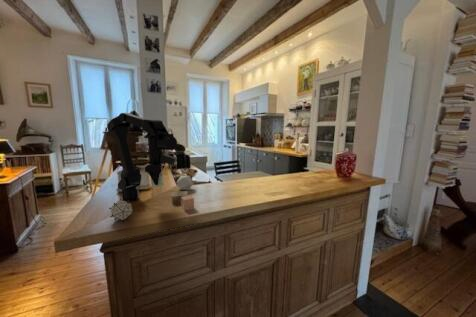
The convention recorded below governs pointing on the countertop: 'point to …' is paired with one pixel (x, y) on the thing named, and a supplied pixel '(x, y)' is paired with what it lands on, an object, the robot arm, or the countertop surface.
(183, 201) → the terracotta block
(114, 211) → the game die
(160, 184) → the sage block
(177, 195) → the walnut base
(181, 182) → the die
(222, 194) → the countertop surface
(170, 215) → the countertop surface
